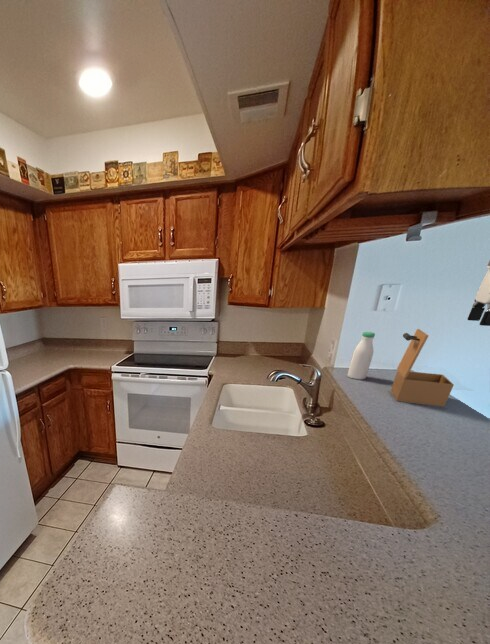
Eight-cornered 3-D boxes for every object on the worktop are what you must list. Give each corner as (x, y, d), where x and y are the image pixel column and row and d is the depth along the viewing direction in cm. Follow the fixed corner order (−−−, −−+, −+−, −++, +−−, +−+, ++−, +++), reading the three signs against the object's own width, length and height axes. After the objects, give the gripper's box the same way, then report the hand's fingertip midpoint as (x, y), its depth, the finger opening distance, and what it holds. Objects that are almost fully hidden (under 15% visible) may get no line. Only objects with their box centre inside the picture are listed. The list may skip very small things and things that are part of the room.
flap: (419, 329, 123) (404, 326, 125) (428, 335, 113) (412, 332, 115) (399, 369, 132) (384, 366, 133) (406, 378, 122) (390, 375, 123)
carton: (434, 395, 131) (442, 374, 127) (444, 406, 121) (453, 384, 117) (390, 390, 136) (397, 370, 132) (396, 400, 126) (404, 379, 122)
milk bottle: (367, 380, 147) (380, 335, 137) (348, 378, 149) (360, 333, 140) (364, 375, 153) (377, 331, 143) (346, 373, 155) (358, 330, 146)
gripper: (538, 263, 88) (507, 328, 96) (507, 262, 102) (482, 319, 111) (503, 263, 91) (475, 326, 99) (477, 262, 105) (455, 318, 113)
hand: (479, 322), depth 105 cm, fingers open, 9 cm apart
